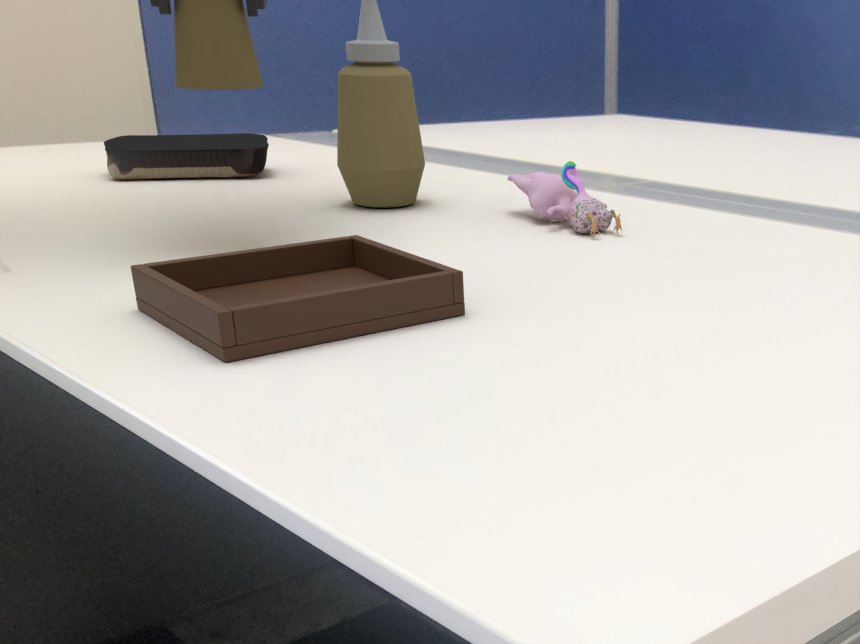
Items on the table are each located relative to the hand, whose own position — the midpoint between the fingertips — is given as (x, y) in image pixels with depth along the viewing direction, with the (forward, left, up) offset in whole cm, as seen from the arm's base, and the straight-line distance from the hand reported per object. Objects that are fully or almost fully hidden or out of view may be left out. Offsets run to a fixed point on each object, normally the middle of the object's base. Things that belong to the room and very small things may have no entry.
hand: (208, 6), depth 74 cm
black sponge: (+12, +40, -18) cm, 45 cm away
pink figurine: (+28, -4, -18) cm, 33 cm away
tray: (-3, -17, -17) cm, 25 cm away
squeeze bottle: (+20, +13, -18) cm, 29 cm away
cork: (+1, +2, -6) cm, 6 cm away
